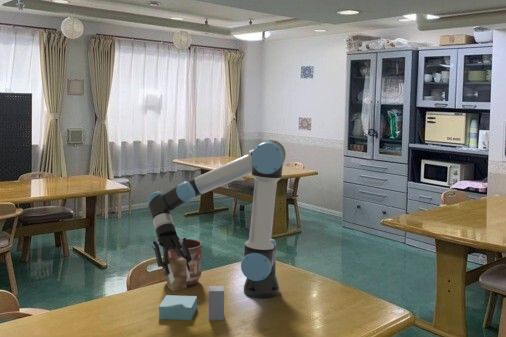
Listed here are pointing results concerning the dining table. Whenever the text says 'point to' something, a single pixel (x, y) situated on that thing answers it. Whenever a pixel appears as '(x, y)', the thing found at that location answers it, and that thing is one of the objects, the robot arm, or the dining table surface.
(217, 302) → the slate block
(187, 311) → the teal base block
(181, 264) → the walnut block
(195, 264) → the pottery
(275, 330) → the dining table surface
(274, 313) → the dining table surface
